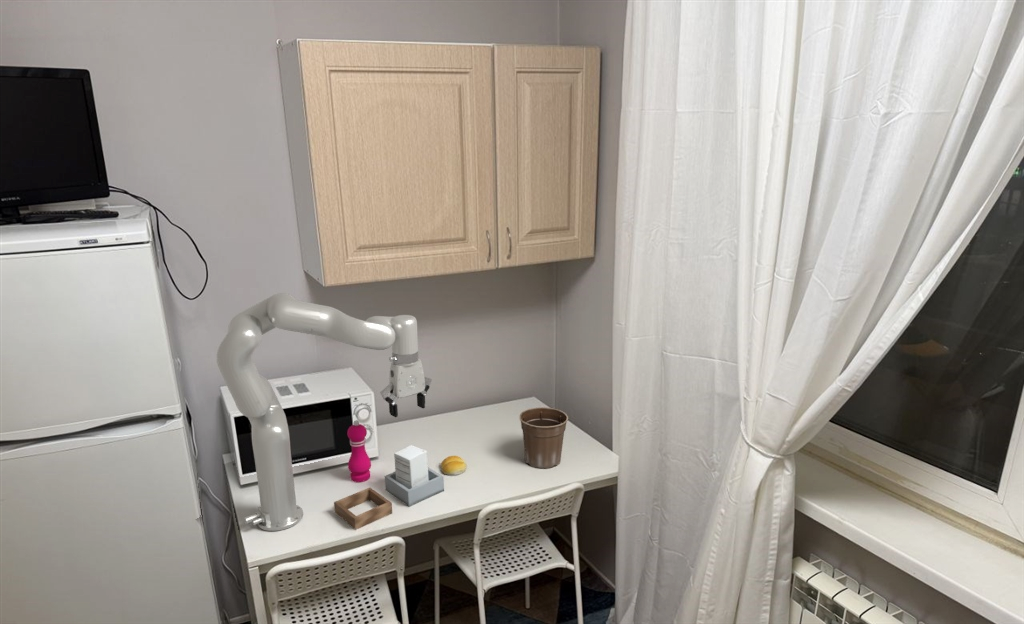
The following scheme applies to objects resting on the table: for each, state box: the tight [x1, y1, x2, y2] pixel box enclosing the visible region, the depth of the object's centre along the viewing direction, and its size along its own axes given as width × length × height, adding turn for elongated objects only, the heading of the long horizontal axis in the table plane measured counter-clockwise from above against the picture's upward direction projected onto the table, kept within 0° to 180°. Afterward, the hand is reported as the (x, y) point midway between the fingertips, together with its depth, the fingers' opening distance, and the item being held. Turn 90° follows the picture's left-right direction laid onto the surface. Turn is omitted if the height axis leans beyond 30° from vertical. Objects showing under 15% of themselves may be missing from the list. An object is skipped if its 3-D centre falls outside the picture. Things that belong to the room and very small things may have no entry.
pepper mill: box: [346, 420, 372, 483], centre depth 205 cm, size 7×7×20 cm
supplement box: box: [393, 444, 429, 489], centre depth 197 cm, size 7×7×13 cm
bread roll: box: [440, 455, 468, 476], centre depth 211 cm, size 8×9×4 cm
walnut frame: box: [333, 487, 393, 531], centre depth 187 cm, size 12×12×4 cm
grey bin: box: [384, 467, 445, 508], centre depth 198 cm, size 13×13×5 cm
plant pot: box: [518, 406, 569, 469], centre depth 215 cm, size 16×16×16 cm
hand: (407, 411), depth 192 cm, fingers open, 9 cm apart
